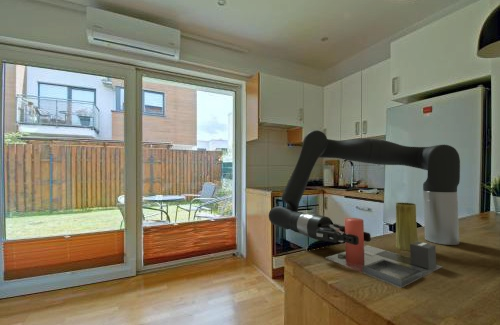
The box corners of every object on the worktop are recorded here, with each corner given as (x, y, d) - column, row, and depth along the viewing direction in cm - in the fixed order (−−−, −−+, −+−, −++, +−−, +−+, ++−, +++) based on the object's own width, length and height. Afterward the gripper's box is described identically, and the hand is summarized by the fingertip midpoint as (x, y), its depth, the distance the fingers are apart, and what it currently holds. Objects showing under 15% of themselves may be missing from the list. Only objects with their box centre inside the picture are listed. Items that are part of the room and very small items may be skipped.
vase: (423, 253, 70) (421, 205, 70) (400, 252, 71) (398, 204, 71) (413, 247, 76) (411, 202, 76) (392, 246, 77) (391, 202, 77)
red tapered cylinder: (352, 256, 66) (351, 217, 67) (368, 261, 62) (367, 220, 63) (342, 259, 64) (341, 219, 64) (357, 265, 60) (356, 222, 60)
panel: (367, 247, 76) (367, 241, 76) (442, 268, 59) (442, 261, 59) (324, 259, 66) (324, 253, 66) (400, 290, 49) (400, 281, 49)
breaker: (418, 260, 63) (417, 240, 63) (436, 265, 59) (435, 244, 59) (410, 263, 61) (410, 243, 61) (428, 269, 57) (428, 247, 57)
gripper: (297, 216, 72) (345, 228, 57) (329, 212, 79) (379, 221, 65) (298, 241, 72) (346, 259, 57) (329, 234, 79) (380, 248, 65)
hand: (363, 239), depth 61 cm, fingers closed on red tapered cylinder, 4 cm apart
